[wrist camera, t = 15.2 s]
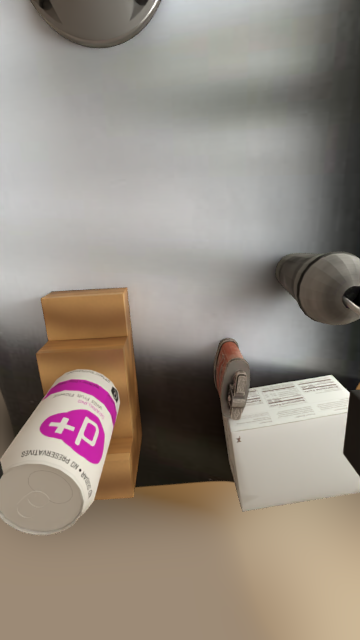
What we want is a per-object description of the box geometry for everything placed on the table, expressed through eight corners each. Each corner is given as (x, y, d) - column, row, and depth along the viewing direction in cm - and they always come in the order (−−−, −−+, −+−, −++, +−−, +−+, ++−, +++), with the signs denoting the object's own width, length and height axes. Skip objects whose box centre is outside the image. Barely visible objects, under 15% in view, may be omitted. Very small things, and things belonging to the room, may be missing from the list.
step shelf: (51, 291, 43) (8, 317, 32) (127, 287, 43) (111, 312, 32) (77, 438, 50) (49, 502, 39) (142, 434, 50) (133, 497, 39)
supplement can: (80, 352, 38) (24, 436, 23) (134, 396, 39) (113, 498, 25) (37, 398, 39) (-40, 503, 25) (92, 438, 41) (49, 556, 27)
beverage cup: (330, 256, 43) (457, 288, 24) (302, 305, 45) (397, 371, 26) (282, 232, 42) (374, 245, 23) (255, 284, 44) (319, 335, 25)
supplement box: (229, 463, 52) (240, 514, 43) (218, 391, 48) (228, 431, 40) (334, 447, 52) (368, 495, 43) (332, 373, 48) (369, 409, 39)
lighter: (233, 389, 48) (249, 431, 39) (211, 388, 48) (220, 430, 39) (241, 338, 46) (259, 370, 36) (217, 337, 46) (229, 368, 36)
